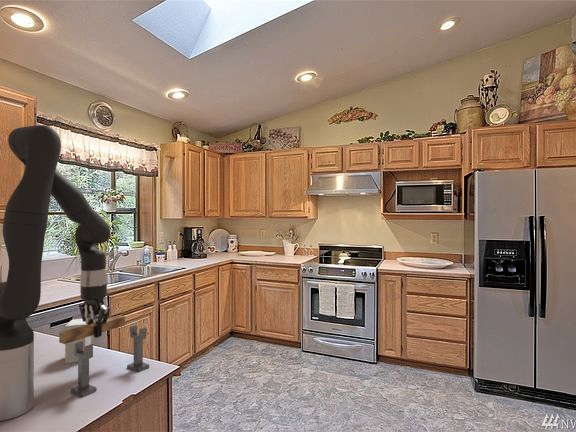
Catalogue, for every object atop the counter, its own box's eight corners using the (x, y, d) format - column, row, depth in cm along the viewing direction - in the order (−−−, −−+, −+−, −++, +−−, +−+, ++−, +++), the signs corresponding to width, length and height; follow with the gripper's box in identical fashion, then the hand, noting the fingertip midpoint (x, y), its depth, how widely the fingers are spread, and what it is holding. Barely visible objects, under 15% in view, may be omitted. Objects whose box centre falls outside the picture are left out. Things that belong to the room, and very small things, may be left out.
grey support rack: (82, 397, 95) (82, 348, 96) (70, 391, 98) (70, 344, 99) (149, 367, 115) (149, 326, 115) (137, 363, 118) (137, 324, 118)
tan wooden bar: (64, 344, 102) (64, 334, 102) (59, 342, 104) (59, 332, 104) (125, 325, 120) (125, 316, 120) (120, 323, 121) (119, 315, 121)
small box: (71, 354, 126) (71, 319, 126) (91, 352, 128) (91, 317, 128) (64, 363, 118) (64, 325, 118) (85, 361, 120) (85, 323, 120)
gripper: (69, 283, 112) (70, 336, 112) (95, 287, 105) (96, 343, 105) (92, 279, 118) (93, 329, 118) (117, 283, 111) (118, 336, 111)
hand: (94, 335), depth 112 cm, fingers closed on tan wooden bar, 3 cm apart
